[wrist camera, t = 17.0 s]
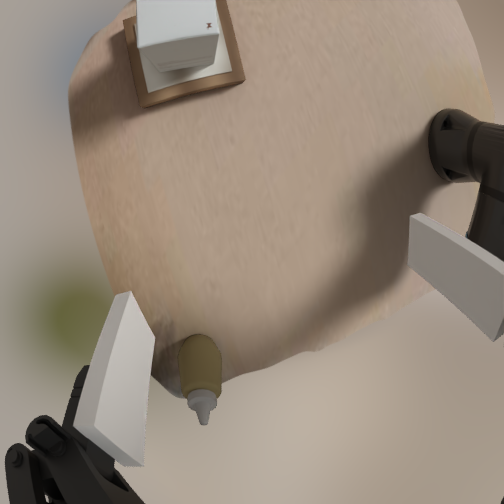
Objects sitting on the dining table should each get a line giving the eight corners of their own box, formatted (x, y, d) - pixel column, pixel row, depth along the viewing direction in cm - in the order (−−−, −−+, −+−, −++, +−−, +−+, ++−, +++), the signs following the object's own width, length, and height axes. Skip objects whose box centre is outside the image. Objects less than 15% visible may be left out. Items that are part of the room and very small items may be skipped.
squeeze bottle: (187, 362, 54) (189, 438, 38) (171, 334, 50) (167, 414, 34) (225, 353, 54) (236, 429, 38) (212, 324, 50) (221, 405, 34)
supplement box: (210, 17, 27) (215, -26, 16) (214, 65, 30) (221, 35, 19) (154, 26, 26) (135, -14, 15) (157, 73, 29) (136, 49, 18)
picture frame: (222, 2, 28) (224, -7, 25) (242, 83, 34) (245, 79, 31) (127, 26, 27) (122, 19, 24) (144, 108, 34) (139, 106, 31)
